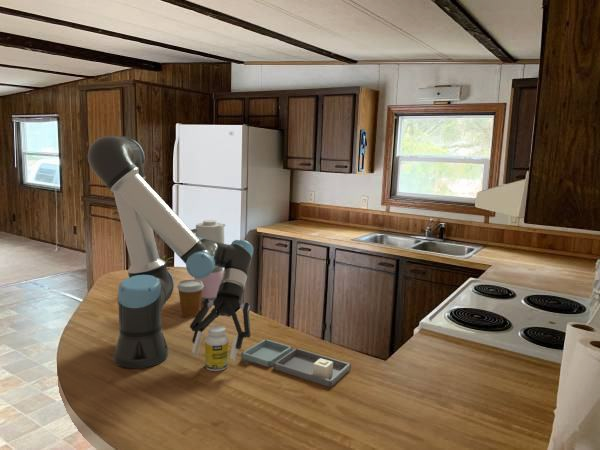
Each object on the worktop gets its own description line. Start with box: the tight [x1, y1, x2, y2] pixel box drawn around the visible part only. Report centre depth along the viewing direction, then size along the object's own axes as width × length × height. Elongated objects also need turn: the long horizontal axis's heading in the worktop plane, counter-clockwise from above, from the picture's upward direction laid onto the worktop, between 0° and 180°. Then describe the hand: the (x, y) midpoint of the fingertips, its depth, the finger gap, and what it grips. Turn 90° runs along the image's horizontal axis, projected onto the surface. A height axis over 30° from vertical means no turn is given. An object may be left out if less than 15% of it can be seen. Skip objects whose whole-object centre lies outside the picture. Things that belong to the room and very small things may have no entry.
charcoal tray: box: [273, 347, 352, 388], centre depth 135 cm, size 12×18×2 cm
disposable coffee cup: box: [176, 279, 204, 318], centre depth 175 cm, size 10×10×12 cm
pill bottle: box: [204, 324, 229, 372], centre depth 135 cm, size 6×6×12 cm
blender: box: [190, 219, 226, 304], centre depth 190 cm, size 16×12×32 cm
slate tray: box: [240, 338, 293, 368], centre depth 143 cm, size 12×10×2 cm
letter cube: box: [313, 358, 333, 379], centre depth 131 cm, size 4×4×4 cm
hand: (212, 357), depth 133 cm, fingers open, 10 cm apart
